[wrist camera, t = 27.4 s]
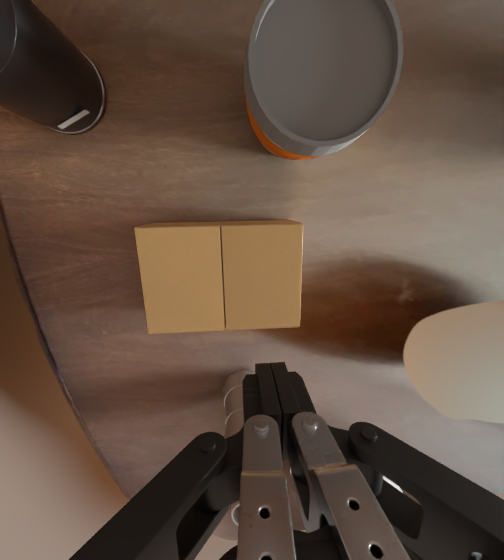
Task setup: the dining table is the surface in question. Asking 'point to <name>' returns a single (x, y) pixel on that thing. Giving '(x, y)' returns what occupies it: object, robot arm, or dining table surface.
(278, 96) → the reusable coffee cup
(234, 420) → the silver metal bottle
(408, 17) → the dining table surface
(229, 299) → the flap
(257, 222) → the carton
